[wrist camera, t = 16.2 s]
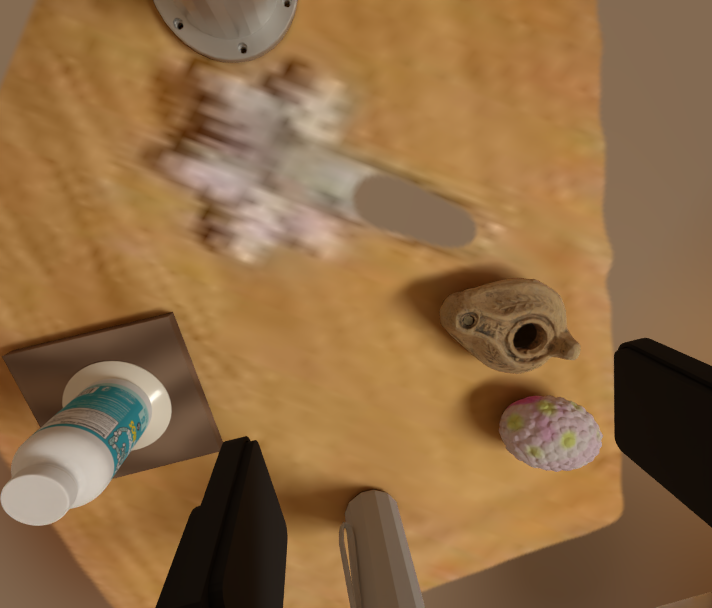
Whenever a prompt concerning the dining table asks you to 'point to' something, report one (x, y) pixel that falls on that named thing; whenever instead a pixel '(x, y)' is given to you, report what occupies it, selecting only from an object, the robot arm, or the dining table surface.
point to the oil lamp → (510, 324)
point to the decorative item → (550, 433)
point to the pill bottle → (76, 452)
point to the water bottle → (378, 555)
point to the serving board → (131, 363)
